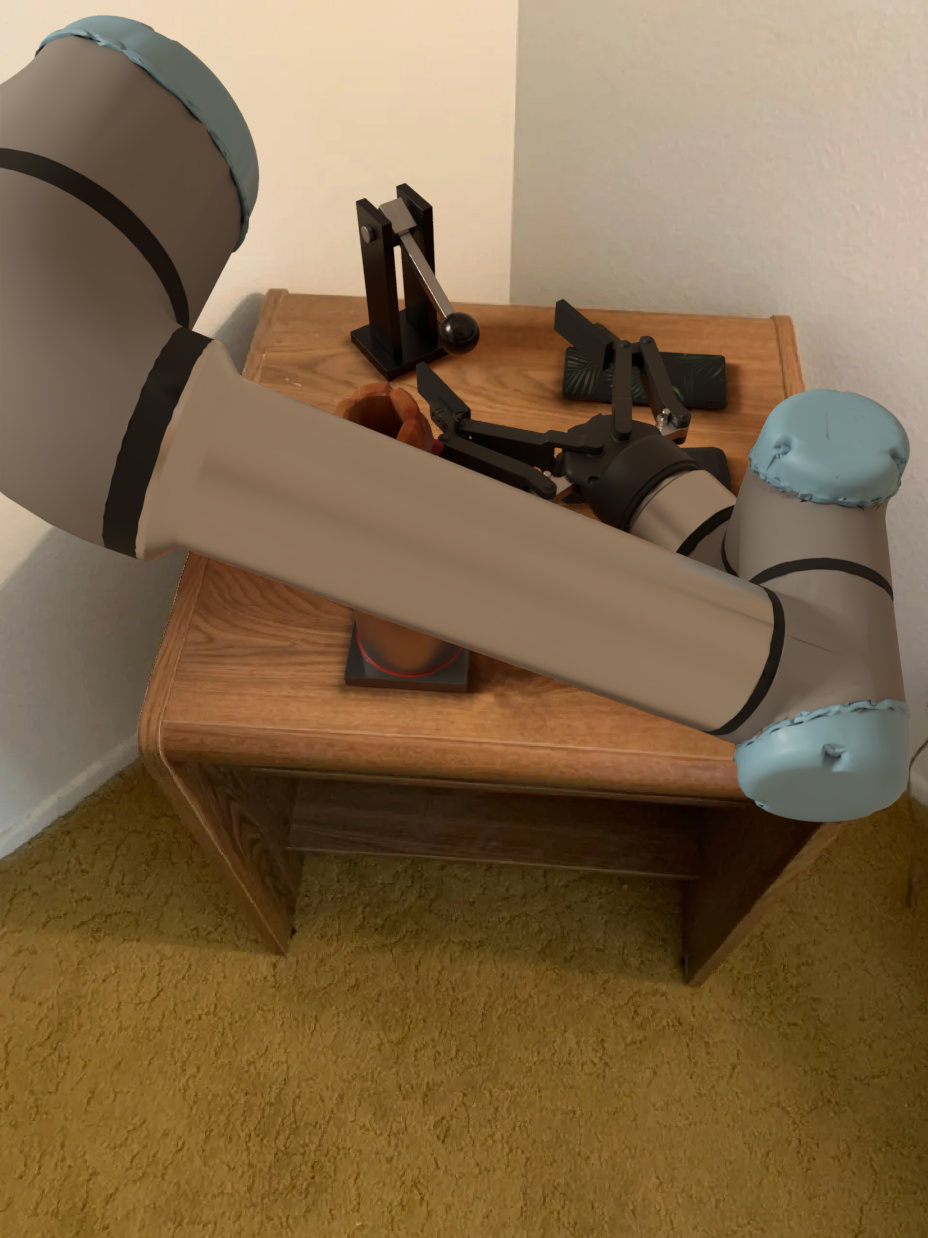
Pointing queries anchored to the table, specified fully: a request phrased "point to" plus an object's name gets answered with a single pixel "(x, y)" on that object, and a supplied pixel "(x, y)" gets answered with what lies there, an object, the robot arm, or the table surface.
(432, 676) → the hob
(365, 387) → the mug
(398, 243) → the lever
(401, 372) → the switch
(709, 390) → the smartphone
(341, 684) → the table surface
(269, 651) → the table surface
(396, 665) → the lidded metal tumbler
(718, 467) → the remote control
